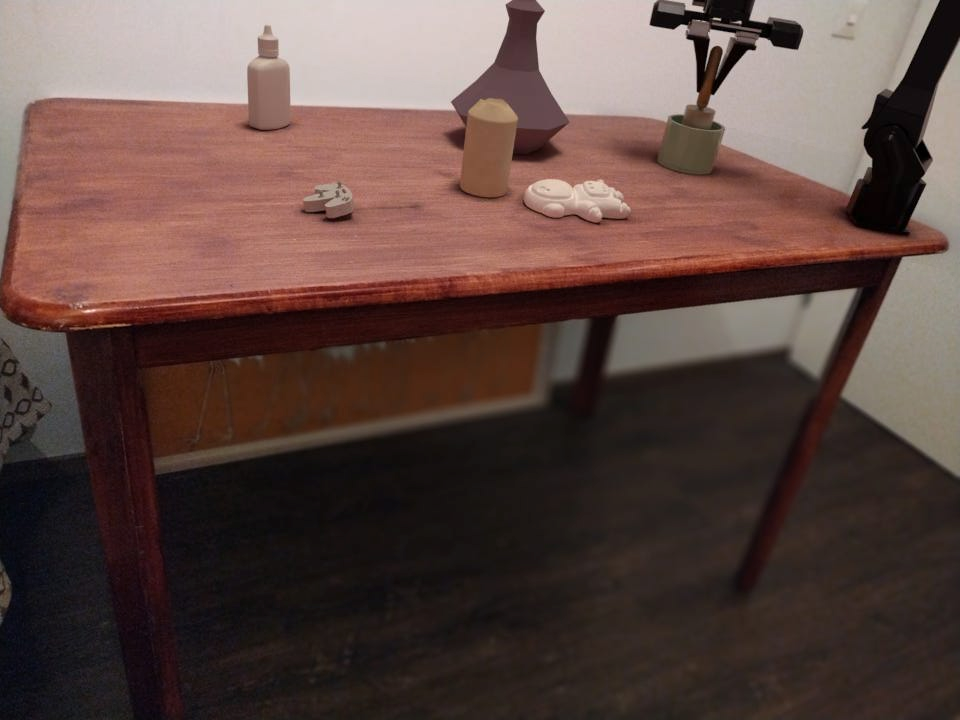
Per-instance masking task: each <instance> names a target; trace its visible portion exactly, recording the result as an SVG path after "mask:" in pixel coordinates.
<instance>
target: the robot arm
mask: <svg viewBox="0 0 960 720" xmlns="http://www.w3.org/2000/svg"><path fill="white" fill-rule="evenodd" d="M755 3H756V0H692V1H691V5H692V6H695V7H700V8H702V11H703V12H702V11H696V10H691V9H690V10H689V9H686V7H687V6H686V3H685V2H680V1H674V0H656V1H655V2H653V6H652V10H651V15H650V19H649V26H651V27H654V28H655V27H656V28H661V29H667V30H672V31H674V30H676V29H677V28H678V27H680V26H681V25H682V26H686V29H685V34H684V35H685V39H686V40H688V41H692V42H693V50H694V55H695V82H696V83H695V85H696V88H695V89H696V91H695V92H696V93H697V94H699V93H700V90H701V87H702V84H703V79H704V73H705V69H706V65H707V62H708V56H709V55H708V54H709V49H710V47H709V46H710V42H711V38H710V35H709V33H710V32H711V31H718V32H723V33H730V34H733V35H734V36H730V37H729V40H728V43H727V47H726V49H725V53H724V54H723V56H722V57H723V58H722V59H721V61H720V65H719V68H718V72H717V75H716V79H715V82H714V85H713V89H712V93H711V96H715V94H716V93H717V92H718V90H719V89H720V87H721V86H722V84H723V83H724V81H725V80H726V79H727V77H728V76H729V74H730V72H731V71H732V70H733V69H734V67H735V66H736V65H737V64H738V62H740V60H741V59H742V57H744V56H745V54H746V53H747V52H748V51H752V52H753V51H756V50H757V48H758V46H757V45H756V43H757V41H759V38H760V39H766V40H767V41H769V42H770V43H771V45H772V46H773V47H775V48H781V49H788V50H794V51H798V50H799V49H800V46H801V42H802V39H803V37H804V32H805V31H804V28H803V26H802V25H801V24H800V23H799V22H797V21H796V20H792V19H785V18H780V17H779V18H778V17H772V16H768V18H767V20H766V22H765V21H764V22H763V21H758V20H751V16H752V13H753V10H754V6H755ZM959 43H960V0H939V1H938V3H937V4H936V7H935V9H934V12H933V13H932V15H931V18H930V19H929V22H928V23H927V26H926V29H925V31H924V33H923V34H922V37H921V39H920V41H919V43H918V45H917V48H916V50H915V52H914V54H913V56H912V58H911V61H910V63H909V65H908V67H907V69H906V71H905V73H904V75H903V77H902V79H901V80H900V82H899V83H898V85H897V86H896V88H895V89H894V91H893V90H891V89H888V88H884V89H883V90H881V91H880V92H879V93H877V94H876V97H875V99H874V103H873V107H872V111H871V114H870V116H869V118H868V119H867V121H866V122H865V123H864V124H863V125H862V126H861V130H866V131H865V134H864V137H863V147H864V149H865V152H866V154H867V156H868V157H869V158H871V166H867V168H866V171H865V172H864V175H863V177H862V178H861V177H860V178H858V179H857V181H856V183H855V186H854V188H853V190H852V193H851V195H850V198H849V200H848V203H847V205H846V206H845V211H846V212H847V214H848V216H849V217H850V219H851V220H852V222H853V224H854V225H856V226H858V227H862V228H867V229H871V230H877V231H883V232H888V233H894V234H899V235H903V236H910V234H911V230H910V228H909V227H908V225H909V223H910V221H911V219H912V216H913V214H914V212H915V210H916V208H917V206H918V203H919V202H920V199H921V197H922V195H923V193H924V192H925V191H924V190H925V188H926V186H927V182H925V180H923V177H924V176H925V175H926V173H927V172H928V170H929V168H930V167H931V165H932V163H933V162H934V158H933V157H932V154H931V152H930V150H929V148H928V146H927V145H926V143H925V141H924V137H925V134H926V130H927V128H928V124H929V120H930V117H931V113H932V111H933V106H934V103H935V99H936V95H937V92H938V88H939V85H940V82H941V80H942V78H943V76H944V74H945V72H946V70H947V68H948V65H949V63H950V61H951V59H952V57H953V56H954V54H955V51H956V49H957V48H958V46H959Z"/></svg>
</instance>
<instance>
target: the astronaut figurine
mask: <svg viewBox="0 0 960 720" xmlns="http://www.w3.org/2000/svg"><path fill="white" fill-rule="evenodd" d="M624 198H625V197H624V194H623V193H622V192H620V191H619V190H616V188H615V187H613V186H612V187H611V186H608V184H607V183H605V181H604V179H597V180H586V181H584V182H583V183H577V184H574V186H573V187H572V186H571V185H570V184H569V183H568V182H567V181H564V180H561V179H554V178H546V179H541V180H537V181H535V182H534V183H532V184H530V185H528V187H527V189H526V190H525V192H524V194H523V203H524V204H525V206H526V207H527V208H529V209H531V210H533V211H535V212H537V213H540V214H543V215H544V216H547V217H549V218H554V219H555V218H558V219H559V218H562V217H564V216H570V215H577V216H578V217H580V218H581V219H583V220H586V221H589V222H592V223H595V224H597V223H600V221H601V220H602V219H603V218H606V219H616V220H617V219H619V220H622V219H623V220H624V219H626V218H628V216H629V215H630V213H631V207H630V206H629V205H628V204H627V203H626V202H624Z"/></svg>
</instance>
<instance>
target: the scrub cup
mask: <svg viewBox="0 0 960 720" xmlns="http://www.w3.org/2000/svg"><path fill="white" fill-rule="evenodd" d="M683 116H684V114H678V113H677V114H671V115H668V116H667V118H666V123H665V126H664V130H663V133H662V138H661V141H660V145H659V149H658V153H657V157H656V161H657V163H658V164H660V165H661V166H663V167H665V168H666V169H669V170H672V171H675V172H679V173H683V174H689V175H697V176H698V175H701V176H702V175H709V174H711V173H712V172H713V171H714V167H715V164H716V161H717V158H718V155H719V151H720V148H721V145H722V141H723V138H724V135H725V132H726V127H725V126H724V125H723V124H721V123H720V122H718V121H715V120H713V122H712V126H711V129H710V130H703V129H697V128H692V127H688V126H685V125H682V124H681V123H682V120H683Z"/></svg>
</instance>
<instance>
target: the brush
mask: <svg viewBox="0 0 960 720" xmlns="http://www.w3.org/2000/svg"><path fill="white" fill-rule="evenodd" d="M708 54H709V55H708V57H707V61H706V67H705V73H704V79H703V84H702V87H701V90H700V93H698V95H697V99H696V104H687V105H686V106H685V109H684V112H683V115H684V116H683V120H682V123H681V124H682V125H685V126H688V127H692V128H697V129H703V130H710V129H711V126H712V122H713V121H714V119H715V115H716V112H717V111H716V110H715V109H713V108H712V107H709V103H710V100H711V96H712V95H711V93H712V89H713V85H714V82H715V79H716V75H717V72H718V70H719V67H720V65H721V62H722V59H723V58H722V57H723V55H724V50H723V48H722V46H720V45H715V46H713V47H712V48H711V49H710V51H709V53H708Z"/></svg>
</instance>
